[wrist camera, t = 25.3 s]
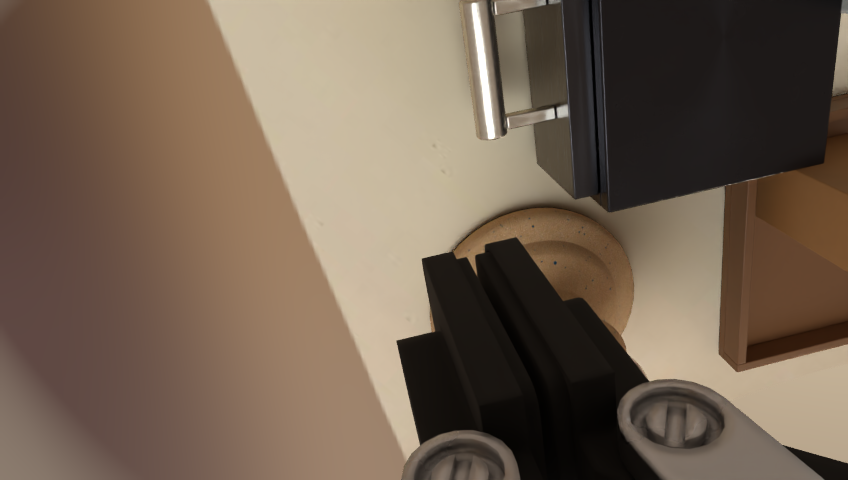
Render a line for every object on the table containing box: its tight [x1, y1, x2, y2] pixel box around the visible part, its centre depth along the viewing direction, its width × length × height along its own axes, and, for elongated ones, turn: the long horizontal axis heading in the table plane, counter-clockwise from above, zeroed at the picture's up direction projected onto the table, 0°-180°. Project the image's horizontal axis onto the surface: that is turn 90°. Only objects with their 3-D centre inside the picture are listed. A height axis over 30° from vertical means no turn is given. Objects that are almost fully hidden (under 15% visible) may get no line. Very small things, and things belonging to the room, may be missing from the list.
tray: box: [719, 94, 848, 372], centre depth 40 cm, size 16×12×2 cm
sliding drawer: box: [459, 0, 599, 199], centre depth 30 cm, size 13×12×5 cm
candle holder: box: [430, 208, 647, 378], centre depth 30 cm, size 12×12×20 cm
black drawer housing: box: [590, 0, 842, 212], centre depth 30 cm, size 11×14×7 cm
